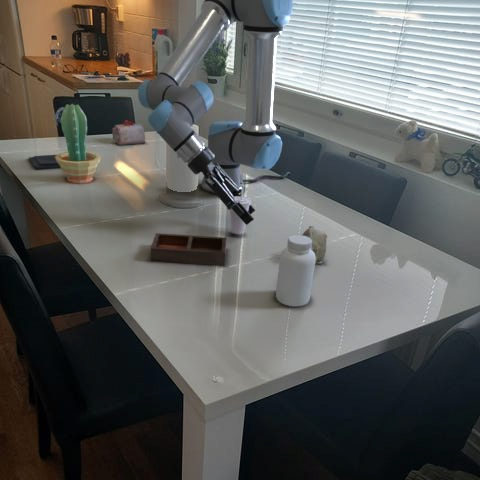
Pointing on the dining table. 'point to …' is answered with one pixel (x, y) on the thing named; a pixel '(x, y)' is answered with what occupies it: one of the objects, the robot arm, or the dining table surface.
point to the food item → (129, 133)
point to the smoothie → (236, 221)
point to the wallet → (44, 162)
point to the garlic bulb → (317, 242)
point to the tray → (188, 249)
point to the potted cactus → (75, 145)
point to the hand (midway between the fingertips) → (250, 217)
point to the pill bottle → (296, 271)
